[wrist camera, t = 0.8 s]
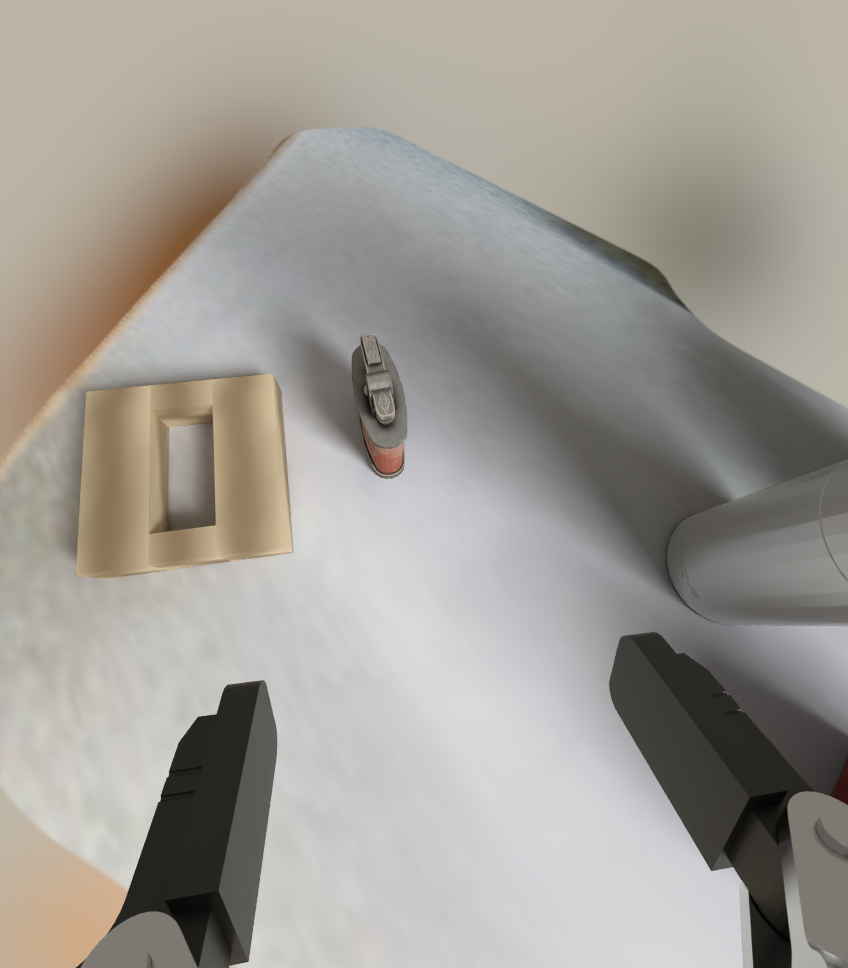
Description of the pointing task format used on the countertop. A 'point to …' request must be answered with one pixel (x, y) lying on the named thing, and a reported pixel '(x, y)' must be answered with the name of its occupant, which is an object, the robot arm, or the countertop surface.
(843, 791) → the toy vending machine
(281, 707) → the countertop surface
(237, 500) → the rail
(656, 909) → the countertop surface
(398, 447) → the lighter
